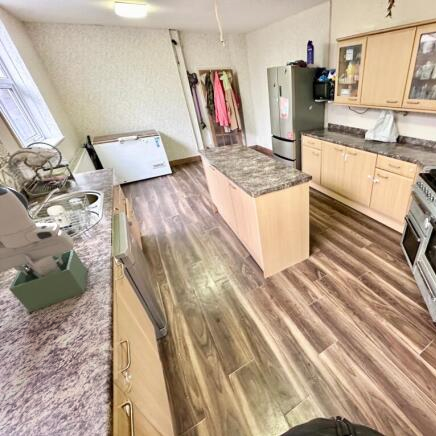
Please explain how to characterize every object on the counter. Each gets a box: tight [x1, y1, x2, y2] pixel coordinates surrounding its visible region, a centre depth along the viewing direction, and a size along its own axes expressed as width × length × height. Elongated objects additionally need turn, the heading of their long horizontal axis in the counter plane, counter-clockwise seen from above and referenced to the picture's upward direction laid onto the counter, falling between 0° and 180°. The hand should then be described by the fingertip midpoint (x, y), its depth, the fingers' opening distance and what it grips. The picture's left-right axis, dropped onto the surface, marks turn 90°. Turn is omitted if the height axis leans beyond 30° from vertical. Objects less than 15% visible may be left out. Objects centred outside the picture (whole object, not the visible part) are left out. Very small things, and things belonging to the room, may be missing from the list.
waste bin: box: [9, 248, 88, 313], centre depth 84 cm, size 15×15×11 cm
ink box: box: [23, 254, 61, 278], centre depth 81 cm, size 9×5×15 cm, turn 65°
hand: (45, 268), depth 82 cm, fingers closed on ink box, 6 cm apart
